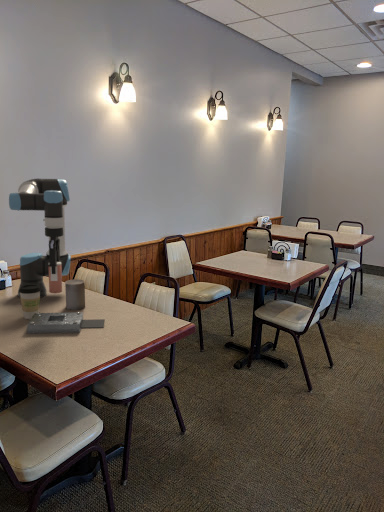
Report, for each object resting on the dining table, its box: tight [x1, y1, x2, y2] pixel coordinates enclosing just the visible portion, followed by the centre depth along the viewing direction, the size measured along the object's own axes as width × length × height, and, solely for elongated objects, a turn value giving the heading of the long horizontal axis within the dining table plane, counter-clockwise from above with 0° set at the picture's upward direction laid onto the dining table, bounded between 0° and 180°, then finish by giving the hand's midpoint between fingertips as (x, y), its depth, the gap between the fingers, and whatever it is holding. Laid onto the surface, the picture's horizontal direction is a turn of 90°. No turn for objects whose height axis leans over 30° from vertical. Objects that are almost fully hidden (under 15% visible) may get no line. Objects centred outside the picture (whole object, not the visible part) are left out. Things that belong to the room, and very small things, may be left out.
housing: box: [26, 311, 84, 335], centre depth 185 cm, size 15×22×5 cm
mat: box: [81, 318, 105, 329], centre depth 191 cm, size 10×10×1 cm
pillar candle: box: [64, 278, 86, 311], centre depth 212 cm, size 10×10×15 cm
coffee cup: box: [18, 284, 41, 320], centre depth 195 cm, size 10×10×15 cm
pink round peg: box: [48, 262, 63, 294], centre depth 181 cm, size 5×5×13 cm
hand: (55, 278), depth 182 cm, fingers closed on pink round peg, 5 cm apart
